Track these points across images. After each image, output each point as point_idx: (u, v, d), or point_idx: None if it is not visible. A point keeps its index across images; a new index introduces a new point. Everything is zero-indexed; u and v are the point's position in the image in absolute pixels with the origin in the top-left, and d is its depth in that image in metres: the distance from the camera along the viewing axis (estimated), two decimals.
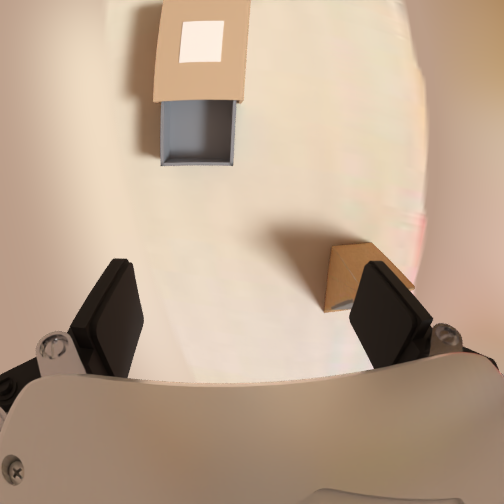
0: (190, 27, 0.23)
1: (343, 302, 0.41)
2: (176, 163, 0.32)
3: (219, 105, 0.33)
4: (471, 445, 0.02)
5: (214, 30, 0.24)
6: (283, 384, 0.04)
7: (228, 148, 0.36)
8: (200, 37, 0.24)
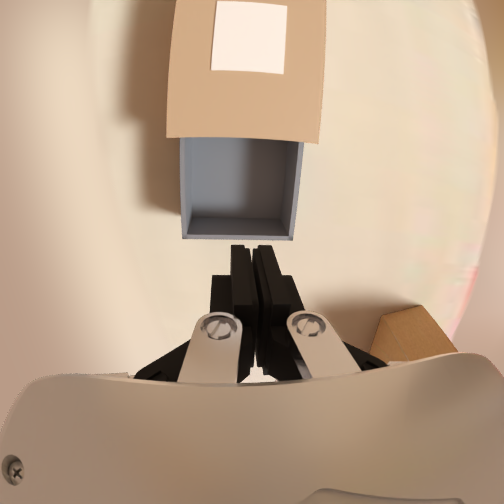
0: (229, 11, 0.13)
1: None
2: (207, 236, 0.22)
3: (268, 139, 0.23)
4: (471, 445, 0.02)
5: (271, 19, 0.13)
6: (283, 384, 0.04)
7: (279, 205, 0.26)
8: (248, 29, 0.14)
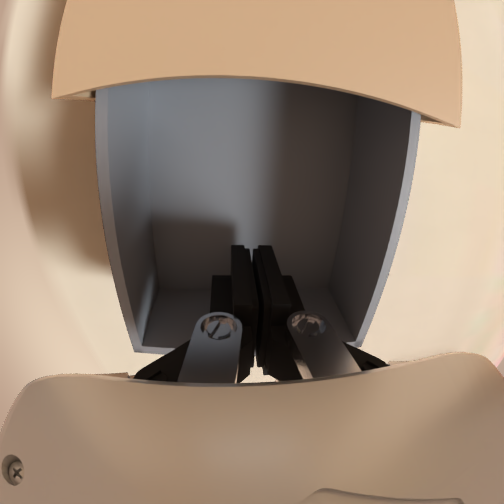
0: None
1: None
2: None
3: (315, 131, 0.10)
4: (471, 445, 0.02)
5: None
6: (283, 384, 0.04)
7: (328, 264, 0.13)
8: None
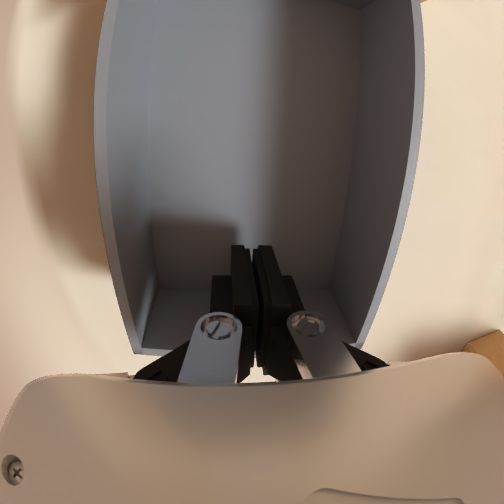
0: None
1: None
2: None
3: (316, 131, 0.10)
4: (471, 445, 0.02)
5: None
6: (283, 384, 0.04)
7: (329, 265, 0.13)
8: None
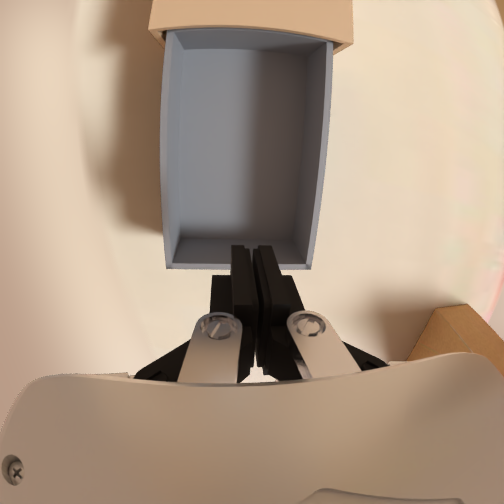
0: None
1: None
2: (198, 265, 0.17)
3: (277, 138, 0.18)
4: (471, 445, 0.02)
5: None
6: (283, 384, 0.04)
7: (291, 222, 0.20)
8: None
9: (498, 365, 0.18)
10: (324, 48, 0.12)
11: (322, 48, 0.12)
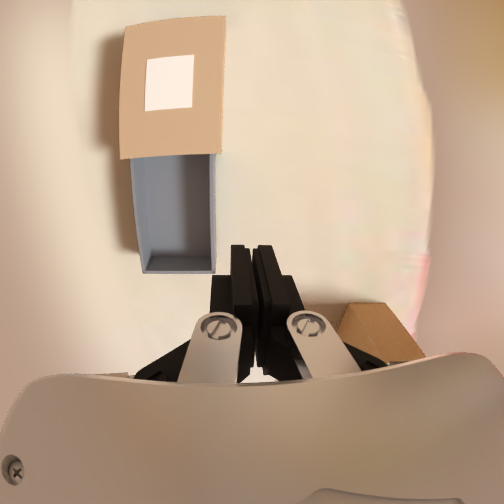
0: (155, 66, 0.21)
1: None
2: (158, 271, 0.33)
3: (197, 201, 0.33)
4: (471, 445, 0.02)
5: (183, 68, 0.22)
6: (283, 384, 0.04)
7: (211, 246, 0.36)
8: (167, 78, 0.22)
9: (393, 350, 0.33)
10: (209, 155, 0.28)
11: None
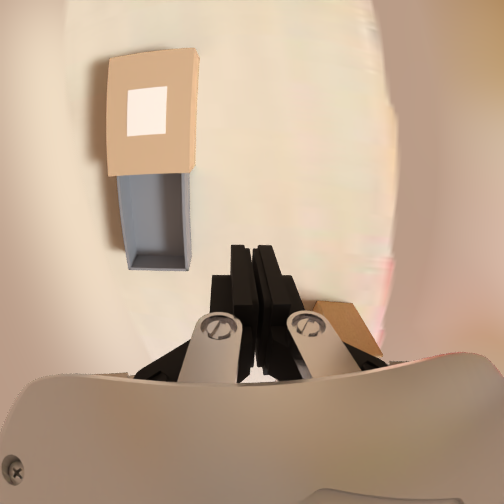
0: (135, 96, 0.26)
1: None
2: (141, 268, 0.38)
3: (174, 209, 0.38)
4: (471, 445, 0.02)
5: (157, 98, 0.27)
6: (283, 384, 0.04)
7: None
8: (145, 107, 0.27)
9: None
10: None
11: None
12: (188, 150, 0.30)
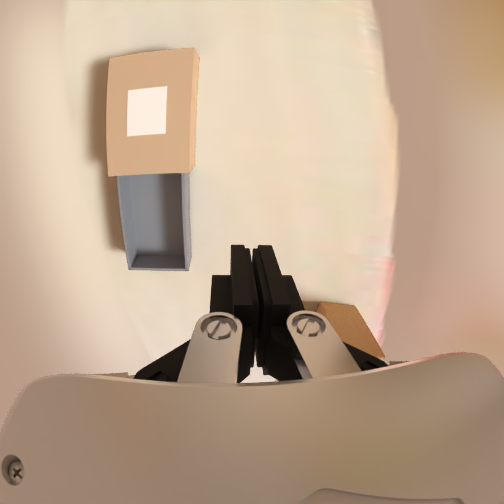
0: (135, 96, 0.26)
1: None
2: (141, 268, 0.38)
3: (174, 209, 0.38)
4: (471, 445, 0.02)
5: (157, 98, 0.27)
6: (283, 384, 0.04)
7: None
8: (145, 107, 0.27)
9: None
10: None
11: None
12: (188, 150, 0.30)
